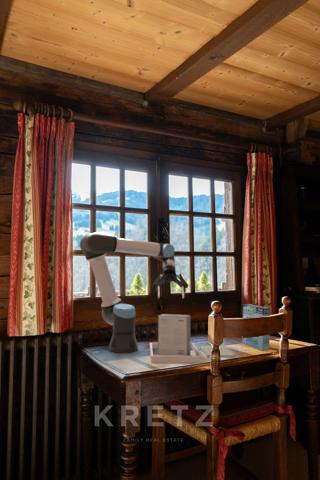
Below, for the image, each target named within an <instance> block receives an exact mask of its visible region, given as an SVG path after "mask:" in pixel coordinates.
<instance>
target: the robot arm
mask: <svg viewBox="0 0 320 480" xmlns="http://www.w3.org/2000/svg"><path fill="white" fill-rule="evenodd" d="M79 249H80V250H81V252H82V253H83V254H84V257H85V259H86V261H88V262H89V263H90V267H91V270H92V272H93V276H94V279H95V282H96V285H97V288H98V291H99V294H100V298H101V301H102V303H101V305H100V307H101V310H102V311H101V317H102V319H103V320H104V322H105V323H107V324H108V325H110V326H112V336H111V339H110V342H109V345H108V349H109V350H108V351H110V352H113V353H116V354H117V353H118V354H119V353H122V354H123V353H125V354H126V353H134V352H137V351H138V350H139V344H138V341H137V338H136V332H135V331H136V308H135V306H134V305H132V304H127V303H123V301H122V299H121V298H120V297H118V295H117V291H116V289H115V286H114V282H113V278H112V276H111V271H110V270H109V267H108V264H107V263H108V262H107V261H106V260H107V259H106V256H107V254H115V253H124V254H132V255H144V256H149V257H152V258H154V259H156V260H158V261H160V262H162V274H161V273H158V274H157V276H156V279H155V280H154V281H153V283H152V288H153V289H155V293H156V294H157V298H158V299H160V296H161V293H160V287H162V285H164V283H166V282H168V283H172V282H173V283H174V284H176V285H178V286H179V287H180V288H181V295H182V299H184V298H185V294H186V293H187V292H186V289H188V288H189V284H188V282H187V281H186V280H185V279H184V277H183V276H182V273H179V274H176V263H175V262H176V260H175V259H176V258H175V247H174V245H173V244H171V243H160V242H152V241H144V240H137V239H130V238H121V237H118V236H117V235H115V234H112V235H111V234H107V233H104V232H99V231H97V232H91V233H87V234H85V235H84V236H82V238H80V242H79ZM160 279H161V280H160Z"/></svg>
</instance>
